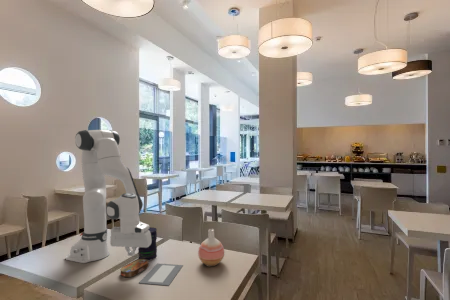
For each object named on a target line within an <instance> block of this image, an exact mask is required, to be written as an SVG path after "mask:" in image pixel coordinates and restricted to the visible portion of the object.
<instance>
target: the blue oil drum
mask: <svg viewBox="0 0 450 300" xmlns="http://www.w3.org/2000/svg"><path fill="white" fill-rule="evenodd" d="M148 230H149V231H150V233H151V240H152V243H151V245H150V246H149V247H147V248H145V247H137V248H138V251H137V252H138V253H137V254H138V259H147V260H148V261H152V260H154V259H156V258H157V256H158V255H157V253H158V252H157V251H158V246H157V239H158V233H157V228H156V227H152V226H151V227H150V226H149V229H148Z"/></svg>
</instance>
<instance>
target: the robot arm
mask: <svg viewBox="0 0 450 300" xmlns="http://www.w3.org/2000/svg"><path fill="white" fill-rule="evenodd" d="M74 139H75V145H76V147H77V148H78V149H79V150H81V172H82V180H83V186H84V194H83V196H82V205H83V206H82V207H83V210H82V211H83V220H84V221H83V230H84V231H83V232H81V233H80V234H79V237H81V238H80V239H79V240H77V241H75V243H74V244H73V245H71V247H70V250H69V253H68V254H66V255H65V257H64V260H65V259H66V261H71V262H76V263H81V264H86V263H90V262H94V261H99V260H102V259H105V258H107V257H108V256H109V255H110V251H109V248H108V247H109V246H108V240H107V239H108V229H107V217H108V218H109V219H111V220H118V219H119V221H120V222H119V224H120V226H113V227H111V229H110V242H109V243H110V246H111V247H116V248H117V247H121V248H124V249H125V251H126V252H127V256H128V257H129V256H132V257H133V256H135V255H136V251H137V248H139V247H145V248H147V247H149V246H150V245H151V243H152V240H151V233H150V231H149V230H148V229H149V227H150V225H149V224H147V223H145V222H142V221H140V216H139V214H140V213H141V211H142V209H143V205H144V203H143V199H142V198H141V196H140V195H139V193H138V189H137V186H136V183H135V180H134V178H133V176H132V175H133V174H132V172H131V171H130V168H128V167H127V166H126V165H125V164H124V162H123V158H122V156H121V155H122V154H121V151H120V148H119V144H120V143H121V141H120V140H121V139H120V135H119V133H118V132H117V131H115V130H111V129H108V130H107V129H89V130H87V129H85V130H84V129H83V130H80V131H78V132H76V134H75V137H74ZM106 176H107V177H112V178H115V179H117V180H119V181H121V183H122V184H123V187H124V189H125V193H122V194H121V195H120V196H119V197H117V198H115V199H112V200H110V201H109V202H108V203H107V196H108V195H107V183H106V182H107V181H106ZM131 249H132V250H131Z"/></svg>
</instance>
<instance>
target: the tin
mask: <svg viewBox="0 0 450 300" xmlns="http://www.w3.org/2000/svg"><path fill="white" fill-rule="evenodd" d="M149 262H150V260H147V259H139V258H138V259H134V260H133V261H131V262H129V263H127V264H125V265H123V266H122V267H121V268H120V276H121V277H124V278H131V277H134V276H137V275H138V274H140V273H141V272H143V271H144V270H146V269H147V268H148V267H149Z"/></svg>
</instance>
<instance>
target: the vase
mask: <svg viewBox="0 0 450 300" xmlns="http://www.w3.org/2000/svg"><path fill="white" fill-rule="evenodd" d="M207 232H208V233H207V234H208V235H207V236H208V237H206V238H205V240H204V241H202V242H201V244H200V245H199V247H198V252H197V254H198V255H197V256H198V258H199V260H200V261H201V262H202V264H204V265H205V266H207V267H215V266H217V265H219V263H221V262H222V261H223V259H224V257H225V249H224V248H225V247H224V245H223V244H222V242H221V241H220V240H218V239H217V238H216V237H215V229H214V228H209V229H208V231H207Z"/></svg>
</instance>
